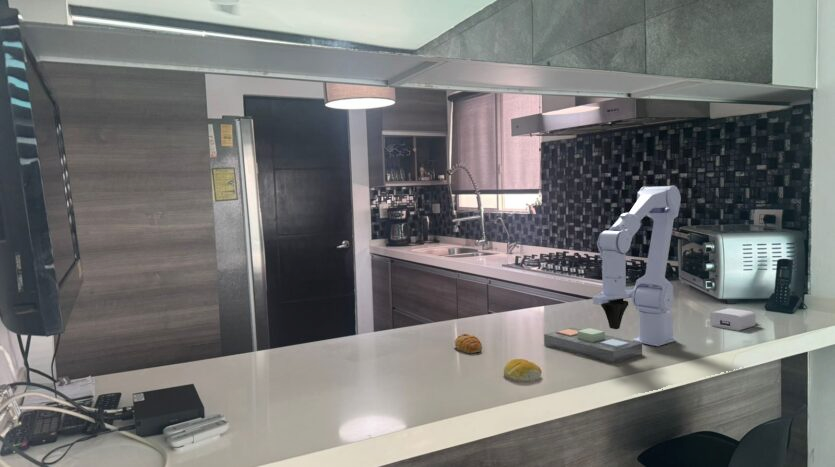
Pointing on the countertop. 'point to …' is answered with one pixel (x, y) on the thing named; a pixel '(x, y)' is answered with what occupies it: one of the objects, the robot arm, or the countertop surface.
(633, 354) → the button panel
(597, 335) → the sage button
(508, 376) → the bread roll
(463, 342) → the pastry
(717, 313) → the charger
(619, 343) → the blue-grey button
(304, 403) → the countertop surface
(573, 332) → the terracotta button
